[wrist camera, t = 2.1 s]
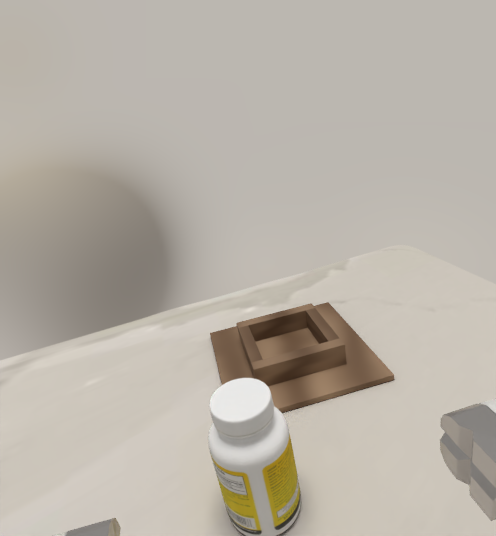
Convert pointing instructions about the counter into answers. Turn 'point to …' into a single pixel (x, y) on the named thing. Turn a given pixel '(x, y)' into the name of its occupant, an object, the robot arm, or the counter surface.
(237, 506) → the supplement bottle
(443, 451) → the robot arm
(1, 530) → the counter surface
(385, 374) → the walnut can holder
